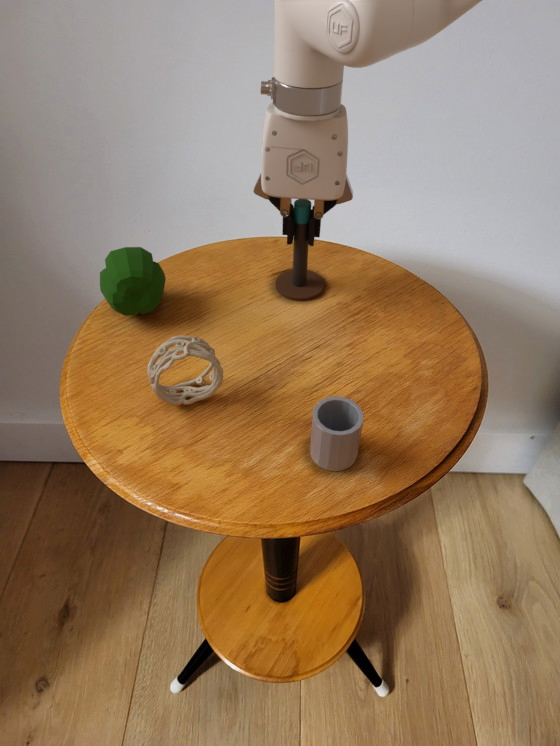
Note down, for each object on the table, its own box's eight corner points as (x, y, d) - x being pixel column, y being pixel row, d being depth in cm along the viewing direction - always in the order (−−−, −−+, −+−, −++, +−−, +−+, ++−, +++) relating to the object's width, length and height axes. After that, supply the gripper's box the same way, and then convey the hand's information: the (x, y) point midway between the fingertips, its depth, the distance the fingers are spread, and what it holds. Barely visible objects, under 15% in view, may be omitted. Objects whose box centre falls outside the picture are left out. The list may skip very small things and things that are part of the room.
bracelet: (150, 394, 66) (139, 343, 60) (216, 376, 68) (211, 325, 62) (159, 418, 63) (148, 367, 57) (226, 399, 65) (222, 348, 60)
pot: (357, 435, 62) (363, 398, 57) (356, 473, 58) (363, 437, 54) (311, 431, 62) (314, 394, 58) (308, 469, 58) (311, 432, 54)
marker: (307, 278, 81) (312, 199, 72) (306, 287, 80) (310, 207, 71) (292, 277, 81) (294, 198, 73) (290, 286, 80) (293, 206, 71)
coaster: (325, 273, 83) (325, 270, 83) (322, 302, 78) (323, 299, 78) (278, 270, 84) (278, 267, 83) (272, 298, 79) (272, 296, 78)
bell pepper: (179, 280, 71) (169, 249, 79) (115, 258, 67) (111, 227, 75) (155, 334, 74) (148, 299, 82) (92, 316, 70) (91, 281, 78)
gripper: (230, 103, 60) (237, 251, 73) (380, 111, 59) (360, 260, 72) (241, 79, 66) (246, 221, 79) (379, 86, 65) (361, 229, 78)
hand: (301, 238), depth 75 cm, fingers closed on marker, 2 cm apart
